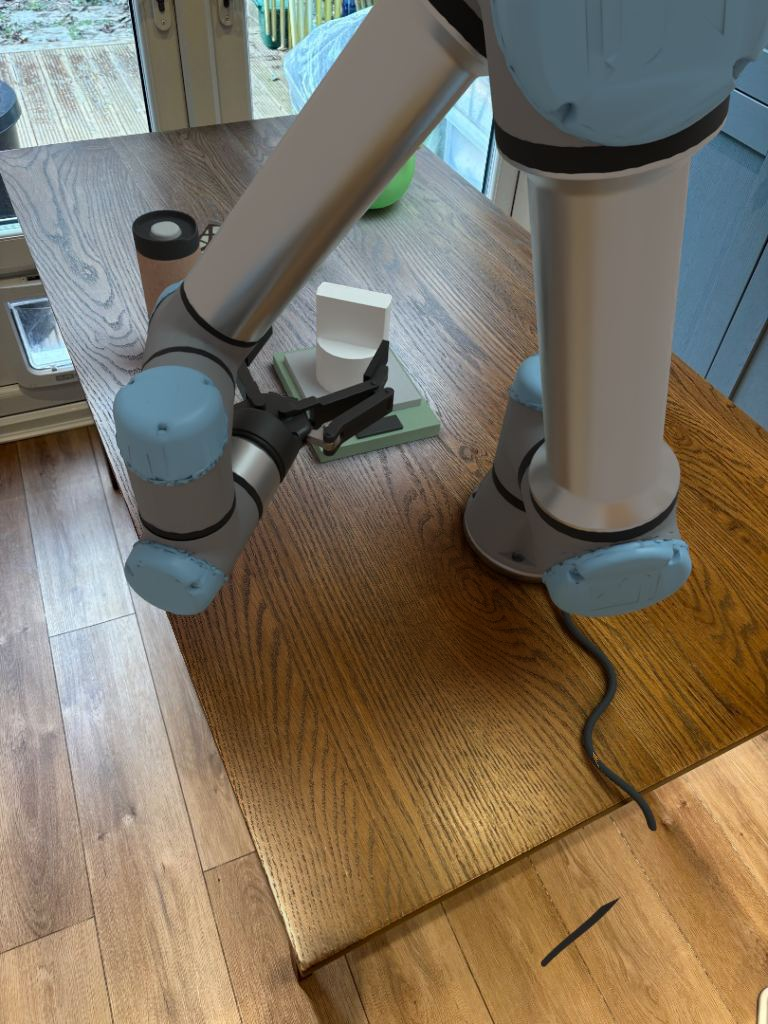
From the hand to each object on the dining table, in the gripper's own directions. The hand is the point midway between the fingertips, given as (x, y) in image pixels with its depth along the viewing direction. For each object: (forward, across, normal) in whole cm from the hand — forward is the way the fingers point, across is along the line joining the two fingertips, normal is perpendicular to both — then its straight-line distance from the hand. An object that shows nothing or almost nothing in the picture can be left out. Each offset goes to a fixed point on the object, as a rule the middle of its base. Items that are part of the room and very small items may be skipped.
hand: (326, 336), depth 82 cm
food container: (+22, -25, -16) cm, 37 cm away
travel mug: (+7, -23, -16) cm, 29 cm away
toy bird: (+63, -15, -16) cm, 66 cm away
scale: (+9, 0, -16) cm, 18 cm away
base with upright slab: (+10, 0, -13) cm, 16 cm away
